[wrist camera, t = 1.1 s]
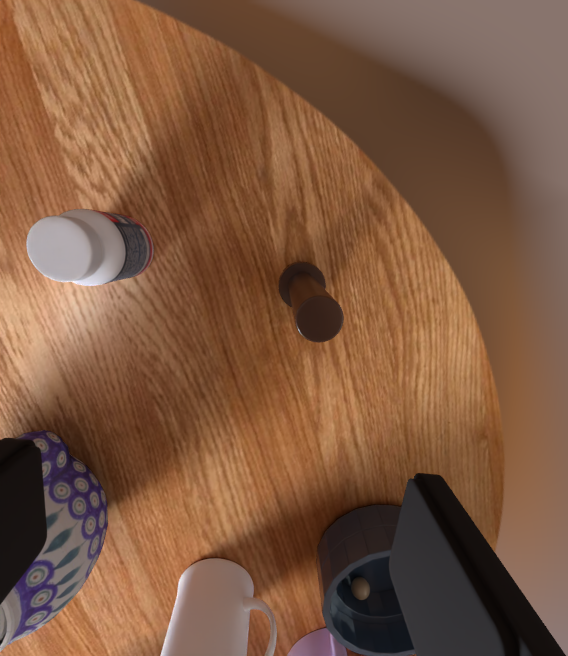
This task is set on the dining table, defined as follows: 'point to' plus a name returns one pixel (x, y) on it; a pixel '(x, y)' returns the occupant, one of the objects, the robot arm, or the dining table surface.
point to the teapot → (57, 541)
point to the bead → (360, 588)
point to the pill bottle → (89, 247)
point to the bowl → (373, 565)
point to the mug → (214, 611)
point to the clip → (318, 645)
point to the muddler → (310, 302)
